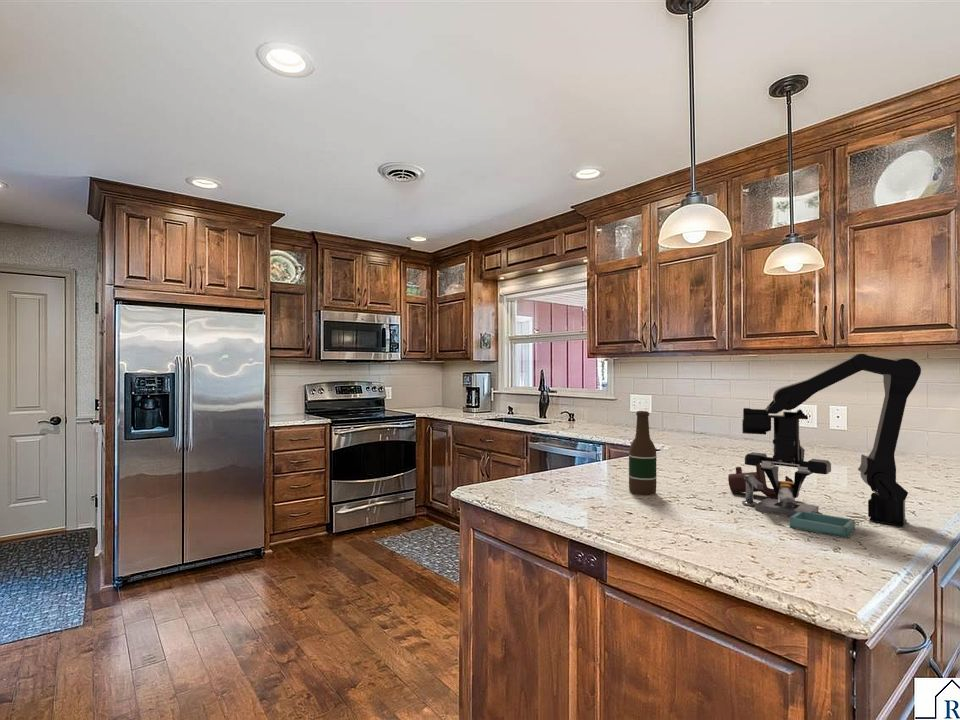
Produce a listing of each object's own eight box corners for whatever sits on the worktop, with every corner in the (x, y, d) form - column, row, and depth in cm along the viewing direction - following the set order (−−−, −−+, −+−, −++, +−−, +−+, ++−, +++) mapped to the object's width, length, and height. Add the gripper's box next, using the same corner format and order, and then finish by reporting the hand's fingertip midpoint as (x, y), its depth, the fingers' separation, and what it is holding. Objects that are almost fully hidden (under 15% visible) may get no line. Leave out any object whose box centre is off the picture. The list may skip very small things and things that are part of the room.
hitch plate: (818, 511, 135) (818, 486, 136) (808, 519, 128) (808, 493, 128) (748, 500, 147) (748, 477, 147) (735, 506, 140) (735, 482, 140)
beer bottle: (623, 490, 157) (623, 410, 158) (643, 488, 161) (643, 409, 161) (641, 496, 150) (641, 412, 151) (662, 494, 154) (662, 411, 154)
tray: (854, 529, 121) (854, 519, 121) (846, 538, 114) (846, 528, 114) (799, 519, 128) (799, 510, 128) (789, 527, 122) (789, 517, 122)
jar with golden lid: (796, 506, 136) (796, 482, 136) (792, 509, 133) (792, 484, 134) (780, 503, 139) (780, 480, 139) (776, 506, 136) (776, 482, 136)
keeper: (743, 478, 144) (743, 474, 144) (753, 479, 143) (753, 475, 143) (754, 489, 132) (754, 484, 132) (765, 489, 131) (765, 484, 131)
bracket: (796, 494, 143) (790, 458, 147) (730, 498, 153) (726, 464, 157) (801, 499, 147) (794, 464, 151) (736, 502, 157) (731, 469, 161)
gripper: (835, 436, 136) (836, 497, 135) (757, 430, 149) (757, 485, 148) (825, 440, 128) (826, 505, 127) (743, 433, 141) (744, 492, 141)
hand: (786, 496), depth 136 cm, fingers closed on jar with golden lid, 4 cm apart
